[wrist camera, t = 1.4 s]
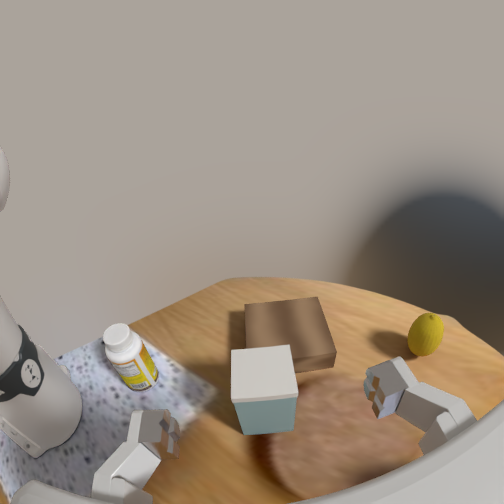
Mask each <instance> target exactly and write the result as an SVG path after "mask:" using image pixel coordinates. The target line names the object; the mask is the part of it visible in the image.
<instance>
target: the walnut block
mask: <svg viewBox="0 0 504 504" xmlns="http://www.w3.org/2000/svg"><path fill="white" fill-rule="evenodd" d="M245 330H246V349H250V348H262V347H272V346H281V345H290V350H291V355H292V361H293V366H294V372H295V373H301V372H308V371H314V370H321V369H327V368H332V367H333V366H334V362H335V358H336V353H337V351H336V348H335V345H334V342H333V340H332V337H331V334H330V331H329V328H328V325H327V322H326V319H325V316H324V314H323V311H322V308H321V305H320V302H319V300H318V297H311V298H303V299H294V300H285V301H275V302H265V303H254V304H245Z"/></svg>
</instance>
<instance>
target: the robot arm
mask: <svg viewBox="0 0 504 504" xmlns="http://www.w3.org/2000/svg"><path fill="white" fill-rule="evenodd" d="M9 186H10V172H9V165H8V161H7V158H6V156H5V153H4V152H3V150H2V148H1V147H0V212H1V211H2V210H3V209H4V207H5V204H6V201H7V198H8V193H9ZM366 375H367V378H366V379H365V380H364V391H365V394H366V396H367V399H368V400H370V401H372V402H373V405H372V409H373V411H374V413H375V415H376V417H377V419H379V418H382V417H384V416H387V415H390V414H392V413H394V412H395V413H396V414H397V415H399V416H400V417H402V418H404V419H405V420H407V421H408V422H410V423H411V424H413V425H415V426H416V427H418V428H420V429H421V430H423V431H424V432H426V433H425V434H424V436H423V437H422V438H421V440H420V441H419V443H418V444H419V446H420V448H421V450H422V452H423V454H424V455H423V456H421V457H419V458H418V459H416V460H414V461H412V462H410V463H408V464H406V465H404V466H402V467H399V468H397V469H395V470H393V471H391V472H389V473H386V474H384V475H382V476H379V477H377V478H374V479H372V480H369V481H367V482H364V483H361V484H358V485H356V486H353V487H350V488H347V489H344V490H341V491H337V492H334V493H331V494H327V495H324V496H320V497H316V498H312V499H308V500H304V501H299V502H294V503H289V504H504V399H503V400H502V401H501V402H500V403H499V404H498V405H496V406H495V407H494V408H493V409H492V410H490V411H489V412H488V413H487V414H485V415H484V416H483V417H482V418H480V419H479V420H478V421H477V420H476V418H475V417H474V415H473V413H472V412H471V410H470V409H469V407H468V406H467V404H466V403H465V401H464V400H463V399H461V398H458V397H456V396H453V395H451V394H449V393H446V392H444V391H442V390H439V389H437V388H435V387H433V386H430V385H428V384H426V383H424V382H420V383H419V382H418V381H417V379H416V378H415V376H414V375H413V373H412V372H411V370H410V369H409V367H408V366H407V364H406V363H405V361H404V360H403V359H402V358H401V357H400V356H399V357H396V358H393V359H391V360H388V361H385V362H383V363H380V364H378V365H375V366H373V367H370V368H368V369H367V370H366ZM81 413H82V399H81V395H80V392H79V390H78V389H77V387H76V386H75V384H74V383H73V382H72V380H71V376H70V372H69V370H68V368H67V367H66V366H64V365H58V364H57V363H56V362H55V361H54V360H53V359H52V358H51V357H50V356H49V354H48V353H47V352H46V351H45V350H44V349H43V347H41V346H40V345H34V343H33V342H32V340H31V338H30V337H29V335H28V334H27V333H26V332H25V331H24V329H23V328H22V327H21V326H20V325H18V324H17V323H16V322H15V320H14V319H13V317H12V315H11V314H10V312H9V310H8V309H7V307H6V305H5V304H4V302H3V300H2V298H1V296H0V429H1V430H2V431H3V432H4V433H5V434H6V435H7V436H9V437H10V438H11V439H12V440H13V441H14V442H15V443H16V444H17V445H19V446H20V447H21V448H22V449H23V450H24V451H26V452H27V453H28V454H29V455H30V456H32V457H33V458H38V457H39V456H41V455H42V454H43V453H44V452H45V451H46V450H48V449H50V448H53V447H56V446H59V445H61V444H62V443H64V442H65V441H66V440H67V439H68V438H69V437H70V436H71V435H72V434H73V433H74V431H75V429H76V428H77V426H78V423H79V421H80V418H81ZM170 415H171V413H170V412H169V411H168V410H167V409H164V410H134V411H133V412H132V414H131V419H130V424H129V430H128V435H127V441H126V442H123V443H122V444H121V445H120V446H119V447H118V448H117V450H116V451H115V452H114V453H113V454H112V455H111V456H110V457H109V458H108V459H107V460H106V462H105V463H104V464H103V465H102V466H101V467H100V468H99V469H98V470H97V471H96V472H95V473H94V479H93V485H92V492H91V498H89V497H85V496H81V495H78V494H75V493H71V492H68V491H65V490H62V489H59V488H56V487H54V486H51V485H48V484H46V483H43V482H40V481H38V480H30V481H29V482H27V483H26V484H25V485H23V486H22V487H21V488H20V489H19V490H17V491H16V492H15V494H14V495H13V497H12V500H11V503H10V504H153V497H152V496H151V495H150V494H148V493H147V492H145V491H143V490H142V489H143V487H144V486H145V484H146V483H147V481H148V480H149V478H150V477H151V475H152V474H153V472H154V471H155V469H156V468H157V466H158V465H159V463H160V461H161V460H164V459H179V445H178V444H177V443H176V442H177V440H178V439H179V438H180V430H179V425H178V423H177V421H176V420H175V418H172V417H170Z"/></svg>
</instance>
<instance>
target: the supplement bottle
mask: <svg viewBox="0 0 504 504" xmlns="http://www.w3.org/2000/svg"><path fill="white" fill-rule="evenodd" d="M103 341H104V343H105V344H106V346H105V353H106V356H107V358H108V359H109V361H110V362H111V364H112V365H113V367H114V368H115V369H116V371H117V372H118V374H119V375H120V376H121V378H122V379H123V380H124V382H125V383H126V385H127V386H128V387H129V388H130V389H131V390H133V391H136V392H145V391H148V390H150V389H152V388H153V387H154V386H155V385H156V383H157V381H158V378H159V372H158V370H157V368H156V366H155V364H154V362H153V361H152V359H151V357H150V355H149V353H148V351H147V350H146V348H145V346H144V344H143V342H142V340H141V338H140V337H139V335H138V334H136V333H135V332H132V331H130V329H129V327H128V326H127V325H125V324H123V323H118V324H114V325H111V326H110V327H108V328H107V329H106V331H105V332H104V334H103Z"/></svg>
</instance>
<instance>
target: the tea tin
mask: <svg viewBox="0 0 504 504" xmlns="http://www.w3.org/2000/svg"><path fill="white" fill-rule="evenodd" d="M297 397H298V388H297V383H296V377H295V372H294V366H293V361H292V355H291V350H290V345H281V346H272V347H262V348H250V349H237V350H231V401H232V403H234V406H235V409H236V412H237V415H238V419H239V422H240V425H241V428H242V431H243V434H244V435H252V434H266V433H276V432H285V431H293V429H294V419H295V409H296V399H297Z"/></svg>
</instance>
